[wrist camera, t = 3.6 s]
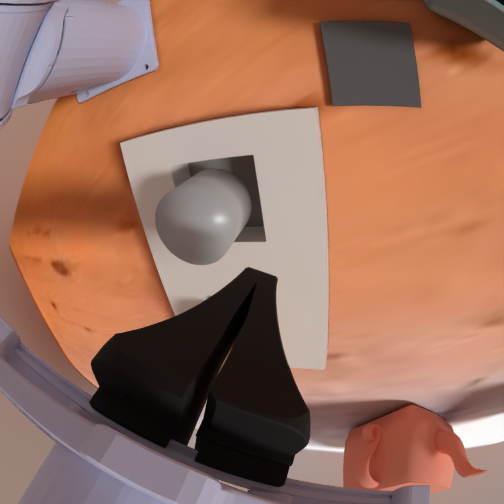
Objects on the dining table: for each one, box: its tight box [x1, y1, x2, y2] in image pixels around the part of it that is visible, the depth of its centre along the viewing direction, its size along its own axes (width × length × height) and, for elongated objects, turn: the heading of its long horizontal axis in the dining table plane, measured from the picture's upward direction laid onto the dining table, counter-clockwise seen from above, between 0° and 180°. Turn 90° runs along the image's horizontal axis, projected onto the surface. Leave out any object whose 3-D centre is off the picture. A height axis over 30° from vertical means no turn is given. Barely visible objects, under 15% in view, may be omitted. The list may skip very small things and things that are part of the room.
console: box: [120, 107, 329, 370], centre depth 23 cm, size 14×22×3 cm, turn 9°
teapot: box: [343, 405, 487, 494], centre depth 25 cm, size 20×19×14 cm
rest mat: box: [320, 21, 421, 108], centre depth 14 cm, size 6×6×1 cm
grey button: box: [155, 168, 252, 265], centre depth 18 cm, size 5×5×4 cm
